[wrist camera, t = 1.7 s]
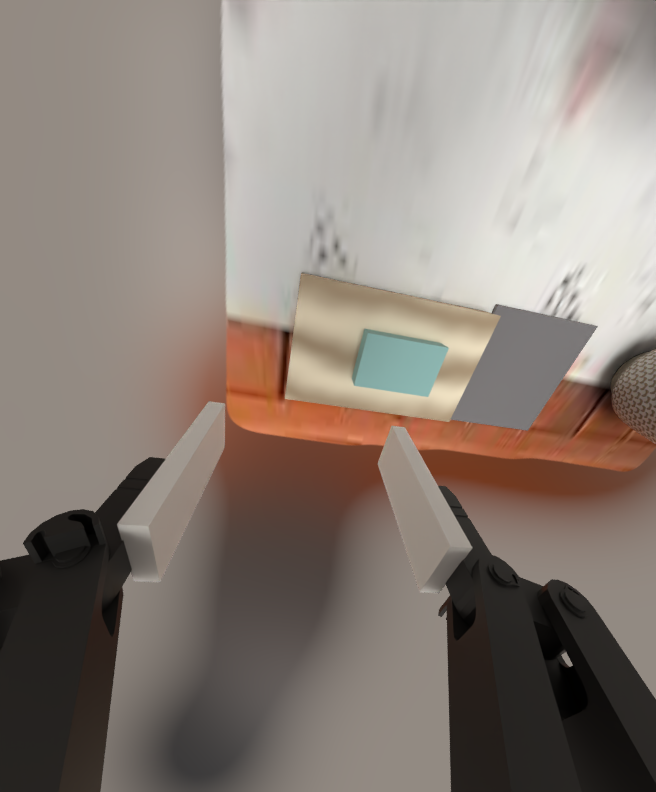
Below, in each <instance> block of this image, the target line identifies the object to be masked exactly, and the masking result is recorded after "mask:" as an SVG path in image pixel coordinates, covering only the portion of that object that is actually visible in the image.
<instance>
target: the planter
mask: <svg viewBox="0 0 656 792" xmlns="http://www.w3.org/2000/svg"><path fill="white" fill-rule="evenodd" d="M610 388H611V392H612V397H611V400H612V407H613V409H614V412H615V413H616V415H617V416H618V417H619V418H620V419H621V420H622V421H623V422H624V423H625V424H627V425H628V426H629V427H631V428H632V429H633V430H635V431H636V432H638V433H639V434H641V435H642V436H644V437H645V438H647V439H649V440H650V441H652V442H653V443H655V444H656V349H654V350H652V351H650V352H645V353H642V354H639V355H637V356H635V357H633V358H631V359H630V360H628V361H627V362H626V363H624V364H623V365H622V366H621V367H620V368H619V369H618V370H617V372H616V373H615V374H614V376H613V378H612V381H611V385H610Z"/></svg>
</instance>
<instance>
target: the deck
mask: <svg viewBox="0 0 656 792" xmlns="http://www.w3.org/2000/svg"><path fill="white" fill-rule="evenodd" d="M500 317H501V316H499V315H496V314H492V313H488V312H485V311H480V310H475V309H471V308H466V307H461V306H456V305H452V304H447V303H442V302H438V301H433V300H428V299H423V298H419V297H414V296H409V295H404V294H400V293H395V292H390V291H385V290H381V289H376V288H371V287H366V286H362V285H357V284H352V283H347V282H343V281H338V280H333V279H328V278H324V277H319V276H314V275H309V274H305V273H301V278H300V285H299V293H298V301H297V308H296V316H295V324H294V332H293V339H292V347H291V355H290V362H289V370H288V378H287V386H286V393H285V399H290V400H297V401H305V402H312V403H319V404H326V405H333V406H340V407H347V408H354V409H361V410H368V411H375V412H383V413H390V414H397V415H404V416H411V417H418V418H425V419H432V420H439V421H446V422H449V421H450V419H451V417H452V415H453V413H454V411H455V409H456V407H457V405H458V403H459V401H460V399H461V397H462V395H463V393H464V391H465V388H466V386H467V384H468V382H469V380H470V378H471V376H472V374H473V372H474V370H475V368H476V366H477V364H478V362H479V360H480V358H481V356H482V354H483V352H484V350H485V348H486V346H487V344H488V342H489V340H490V338H491V336H492V334H493V331H494V329H495V327H496V325H497V323H498V321H499V319H500ZM364 329H369V330H375V331H380V332H385V333H391V334H396V335H401V336H407V337H412V338H417V339H423V340H428V341H434V342H439V343H442V344H443V345H445V346H446V347H448V348H449V349H448V352H447V354H446V356H445V359H444V361H443V363H442V366H441V368H440V371H439V373H438V375H437V378H436V380H435V382H434V385H433V387H432V389H431V392H430V394H429V396H428V397H424V396H418V395H411V394H405V393H398V392H392V391H385V390H379V389H372V388H366V387H359V386H354V384H353V381H352V375H353V371H354V367H355V363H356V359H357V356H358V352H359V348H360V344H361V340H362V336H363V332H364Z"/></svg>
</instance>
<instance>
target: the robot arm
mask: <svg viewBox="0 0 656 792" xmlns="http://www.w3.org/2000/svg"><path fill="white" fill-rule="evenodd" d="M224 447H225V403H217V402H210V401H209V402H208V403H207V405H206V406H205V408H204V409H203V410H202V411H201V413H200V414H199V415H198V417H197V418H196V420H195V421H194V422H193V424H192V425H191V426H190V428H189V429H188V430H187V432H186V433H185V434H184V435H183V437H182V438H181V440H180V441H179V442H178V444H177V445H176V446H175V447H174V449H173V450H172V451H171V453H170V454H169V456H168V457H167V458H166V459H162V458H153V457H149V458H148V459H146V460H145V461H143V462H142V463H140V464H138V465H137V466H136V467H135V468H134V469H133V470H132V471H131V472H130V473H129V474H128V476H127V477H126V479H125V480H124V481H123V482H121V484H120V485H119V486H118V488H117V490H115V491H114V492H113V493H112V494H111V496H109V498H108V499H107V500H106V501H105V502H104V503H103V504H102V505H101V507H100V508H99V509H98V510H97V511H96V512H95V513H94V512H93V511H89V510H84V509H82V510H73V511H68V512H65V513H62V514H59V515H56V516H54V517H53V518H51V519H49V520H47V521H45V522H43V523H42V524H40V525H39V526H38V527H37V528H36V529H34V530H33V531H32V532H31V533H30V534H29V535H28V537H27V538H26V540H25V541H24V543H23V544H24V546H25V548H26V549H27V551H28V553H29V555H25V556H21V557H16V558H11V559H7V560H2V561H0V792H100V789H101V781H102V772H103V764H104V755H105V747H106V738H107V729H108V720H109V713H110V704H111V696H112V695H111V694H112V686H113V678H114V669H115V661H116V652H117V644H118V635H119V627H120V618H121V610H122V601H123V589H122V586H123V584H124V582H125V581H126V579H127V577H128V575H129V574H130V572H131V574H132V577H133V580H134V581H142V582H160V581H161V579H162V577H163V575H164V573H165V571H166V569H167V567H168V565H169V563H170V560H171V558H172V556H173V554H174V552H175V550H176V548H177V546H178V544H179V542H180V539H181V537H182V535H183V533H184V531H185V529H186V527H187V525H188V523H189V520H190V518H191V516H192V514H193V512H194V510H195V508H196V506H197V504H198V502H199V500H200V498H201V495H202V493H203V491H204V489H205V487H206V485H207V483H208V481H209V479H210V477H211V475H212V472H213V470H214V468H215V466H216V464H217V462H218V460H219V458H220V456H221V454H222V451H223V449H224ZM378 466H379V469H380V472H381V475H382V478H383V481H384V484H385V488H386V491H387V493H388V497H389V500H390V503H391V506H392V509H393V512H394V515H395V518H396V521H397V524H398V528H399V530H400V533H401V536H402V540H403V543H404V546H405V549H406V552H407V555H408V558H409V561H410V564H411V567H412V571H413V574H414V577H415V580H416V583H417V585H418V589H419V592H424V593H439V592H440V591H441V590H442V588H443V587H444V586H445V584H446V586H447V588H448V590H449V593H450V596H449V597H448V599H447V600H446V601H445V603H444V604H443V605H442V606H441V608H440V609H439V616H441V617H442V616H443V614H444V613H445V612H446V611H447V618H446V620H447V638H448V639H447V643H448V684H449V723H450V724H449V725H450V766H451V792H656V699H655V698H654V696H653V695H652V693H651V692H650V690H649V689H648V687H647V686H646V684H645V683H644V681H643V680H642V678H641V677H640V676H639V674H638V672H637V671H636V670H635V668H634V667H633V665H632V664H631V662H630V661H629V659H628V658H627V656H626V655H625V653H624V652H623V650H622V649H621V647H620V646H619V644H618V643H617V641H616V640H615V638H614V637H613V635H612V634H611V632H610V631H609V630H608V628H607V627H606V625H605V623H604V622H603V620H602V619H601V618H600V616H599V615H598V613H597V612H596V610H595V609H594V608H593V606H592V605H591V604H590V603H589V601H588V600H587V599H586V598H585V597H584V596H583V595H582V594H581V593H580V592H578V591H577V590H576V589H574V588H573V587H572V586H570V585H568V584H567V583H565V582H562V581H559V580H550V581H549V582H548V583H547V584H546V585H545V586H541V585H538V584H536V583H533V582H531V581H528V580H526V579H523V578H520V577H519V576H518V575H517V574H516V572H515V571H514V570H513V569H512V568H511V567H510V566H509V565H508V564H507V563H506V562H505V561H503V560H501V559H500V558H498V557H496V556H493V555H492V554H491V553H490V551H489V550H488V548H487V546H486V545H485V543H484V542H483V540H482V538H481V537H480V535H479V533H478V532H477V530H476V529H475V527H474V525H473V524H472V522H471V520H470V519H469V518H468V516H467V514H466V512H465V511H464V509H462V506H461V504H460V503H459V501H458V499H457V498H456V496H455V495H454V494H453V493H452V492H451V491H450V490H449V489H448V488H447V487H445V486H437V484H436V482H435V480H434V478H433V477H432V475H431V473H430V471H429V470H428V468H427V466H426V464H425V463H424V461H423V459H422V457H421V455H420V454H419V452H418V450H417V448H416V446H415V445H414V443H413V441H412V439H411V438H410V436H409V434H408V432H407V430H406V429H405V427H398V426H391V429H390V432H389V434H388V437H387V440H386V443H385V445H384V448H383V451H382V453H381V456H380V459H379V462H378ZM565 652H567V654H568V656H569V658H570V660H571V662H572V664H573V666H571V667H569V666H568V665H567V664H566V663H565V661H564V660H563V658H562V656H561V655H562V654H563V653H565Z"/></svg>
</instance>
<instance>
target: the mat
mask: <svg viewBox="0 0 656 792" xmlns="http://www.w3.org/2000/svg"><path fill="white" fill-rule="evenodd" d="M492 314H496V315H499V316H501V317H500V319H499V321H498V323H497V325H496V327H495V329H494V331H493V334H492V336H491V338H490V340H489V342H488V344H487V346H486V348H485V350H484V352H483V354H482V356H481V358H480V360H479V362H478V364H477V366H476V368H475V370H474V372H473V374H472V376H471V378H470V380H469V382H468V384H467V386H466V388H465V391H464V393H463V395H462V397H461V399H460V401H459V403H458V405H457V407H456V409H455V411H454V413H453V415H452V417H451V420H458V421H465V422H472V423H479V424H486V425H493V426H500V427H507V428H514V429H521V430H528V429H529V428H530V426H531V425H532V423H533V422H534V420H535V419H536V417H537V416H538V414H539V413H540V412H541V410H542V409H543V407H544V406H545V404H546V403H547V401H548V400H549V398H550V397H551V395H552V394H553V392H554V391H555V389H556V388H557V386H558V385H559V383H560V382H561V380H562V379H563V377H564V376H565V374H566V373H567V371H568V370H569V368H570V367H571V365H572V364H573V363H574V361H575V360H576V358H577V357H578V355H579V354H580V352H581V351H582V349H583V348H584V346H585V345H586V343H587V342H588V340H589V339H590V337H591V336H592V334H593V333H594V331H595V330H596V328H597V327H598V326H594V325H589V324H584V323H580V322H575V321H571V320H566V319H561V318H557V317H552V316H547V315H543V314H538V313H534V312H529V311H524V310H520V309H515V308H510V307H506V306H501V305H497V304H496V305H495V308H494V310H493V312H492Z"/></svg>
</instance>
